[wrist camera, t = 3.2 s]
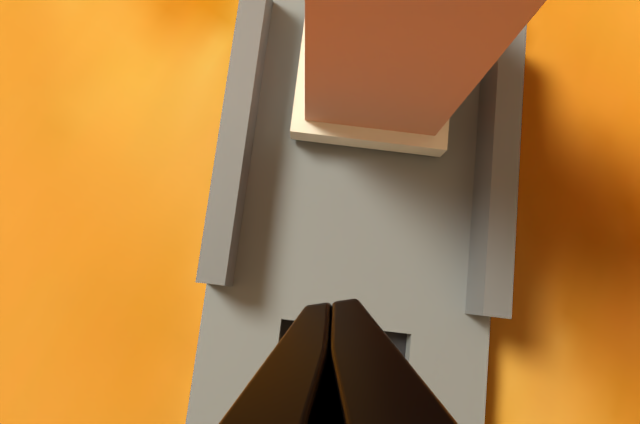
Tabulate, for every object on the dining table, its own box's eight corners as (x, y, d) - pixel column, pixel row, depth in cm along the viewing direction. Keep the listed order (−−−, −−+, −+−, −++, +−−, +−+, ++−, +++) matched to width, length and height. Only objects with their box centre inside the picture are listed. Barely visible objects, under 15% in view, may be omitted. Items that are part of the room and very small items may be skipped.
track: (466, 558, 19) (497, 606, 16) (175, 525, 19) (151, 569, 16) (508, -134, 24) (537, -195, 21) (278, -163, 24) (274, -229, 21)
